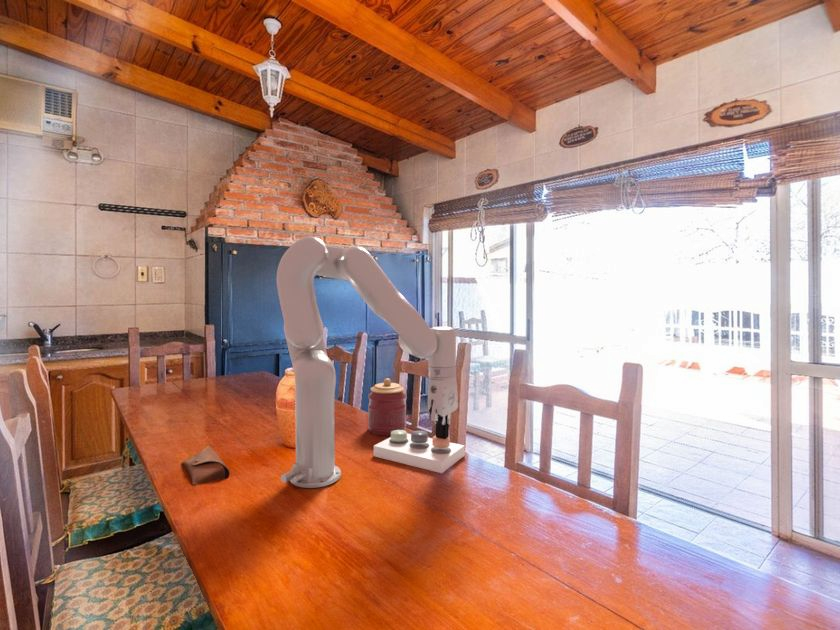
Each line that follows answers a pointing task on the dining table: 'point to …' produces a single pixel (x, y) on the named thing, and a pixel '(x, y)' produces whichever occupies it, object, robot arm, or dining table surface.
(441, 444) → the terracotta button
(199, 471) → the sunglasses case
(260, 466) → the dining table surface
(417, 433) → the charcoal button
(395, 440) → the sage button
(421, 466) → the panel
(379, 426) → the canister
